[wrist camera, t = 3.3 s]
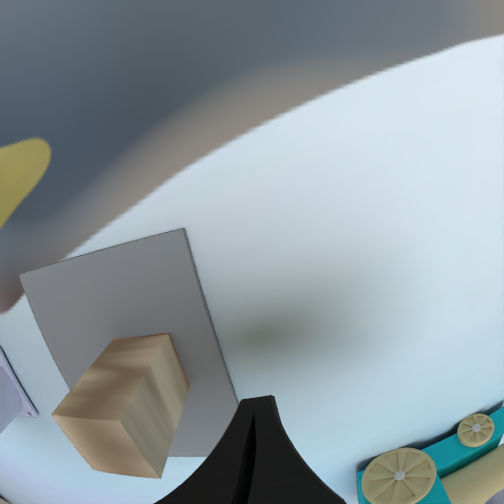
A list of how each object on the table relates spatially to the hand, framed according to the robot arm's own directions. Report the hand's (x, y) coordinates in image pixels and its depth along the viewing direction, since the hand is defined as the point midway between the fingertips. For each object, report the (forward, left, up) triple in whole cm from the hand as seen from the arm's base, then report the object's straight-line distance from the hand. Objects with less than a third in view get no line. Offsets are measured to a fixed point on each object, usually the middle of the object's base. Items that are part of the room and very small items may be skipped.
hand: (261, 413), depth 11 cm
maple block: (-7, 0, -5) cm, 9 cm away
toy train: (+13, -18, -6) cm, 23 cm away
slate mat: (-9, -1, -6) cm, 11 cm away
